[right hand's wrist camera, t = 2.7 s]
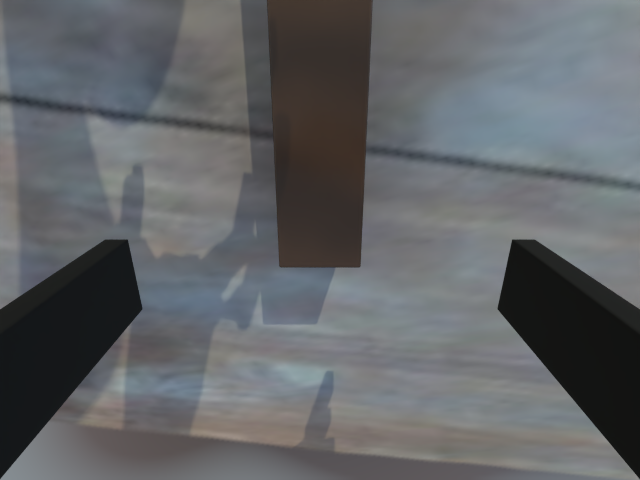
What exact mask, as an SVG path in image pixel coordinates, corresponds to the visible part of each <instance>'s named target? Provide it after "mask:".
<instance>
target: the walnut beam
mask: <svg viewBox="0 0 640 480" xmlns="http://www.w3.org/2000/svg"><path fill="white" fill-rule="evenodd" d="M372 4H373V0H267V8H268V30H269V51H270V73H271V94H272V116H273V138H274V159H275V181H276V202H277V224H278V245H279V266H280V267H360V264H361V243H362V221H363V199H364V177H365V156H366V134H367V112H368V91H369V69H370V47H371V25H372Z"/></svg>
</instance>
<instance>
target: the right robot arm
mask: <svg viewBox="0 0 640 480" xmlns="http://www.w3.org/2000/svg"><path fill="white" fill-rule="evenodd" d="M141 310H142V304H141V300H140V295H139V290H138V286H137V281H136V276H135V272H134V267H133V262H132V258H131V253H130V248H129V243H128V240H104V241H103V242H101V243H100V244H98V245H97V246H95V247H94V248H92V249H91V250H89V251H87V252H86V253H84V254H83V255H81V256H80V257H78V258H77V259H75V260H74V261H72V262H71V263H69V264H68V265H66V266H65V267H63V268H62V269H60V270H59V271H57V272H56V273H54V274H53V275H51V276H50V277H48V278H47V279H45V280H44V281H42V282H41V283H39V284H38V285H36V286H35V287H33V288H32V289H30V290H29V291H27V292H26V293H24V294H23V295H21V296H20V297H18V298H17V299H15V300H14V301H12V302H11V303H9V304H8V305H6V306H5V307H3V308H2V309H0V479H1V477H2V476H3V475H4V474H5V473H6V471H7V470H8V469H9V468H10V467H11V465H12V464H13V463H14V462H15V461H16V459H17V458H18V457H19V456H20V455H21V453H22V452H23V451H24V450H25V449H26V447H27V446H28V445H29V444H30V443H31V442H32V440H33V439H34V438H35V437H36V436H37V434H38V433H39V432H40V431H41V430H42V428H43V427H44V426H45V425H46V424H47V422H48V421H49V420H50V419H51V418H52V416H53V415H54V414H55V413H56V412H57V410H58V409H59V408H60V407H61V406H62V405H63V403H64V402H65V401H66V400H67V399H68V397H69V396H70V395H71V394H72V393H73V391H74V390H75V389H76V388H77V387H78V385H79V384H80V383H81V382H82V381H83V379H84V378H85V377H86V376H87V375H88V373H89V372H90V371H91V370H92V369H93V367H94V366H95V365H96V364H97V363H98V362H99V360H100V359H101V358H102V357H103V356H104V354H105V353H106V352H107V351H108V350H109V348H110V347H111V346H112V345H113V344H114V342H115V341H116V340H117V339H118V338H119V336H120V335H121V334H122V333H123V332H124V330H125V329H126V328H127V327H128V326H129V325H130V323H131V322H132V321H133V320H134V319H135V317H136V316H137V315H138V314H139V313H140V311H141ZM498 310H499V311H500V313H501V314H502V315H503V316H504V317H505V319H506V320H507V321H508V322H509V323H510V325H511V326H512V327H513V328H514V329H515V330H516V332H517V333H518V334H519V335H520V336H521V338H522V339H523V340H524V341H525V342H526V344H527V345H528V346H529V347H530V348H531V350H532V351H533V352H534V353H535V354H536V356H537V357H538V358H539V359H540V360H541V362H542V363H543V364H544V365H545V366H546V367H547V369H548V370H549V371H550V372H551V373H552V375H553V376H554V377H555V378H556V379H557V381H558V382H559V383H560V384H561V385H562V387H563V388H564V389H565V390H566V391H567V393H568V394H569V395H570V396H571V397H572V399H573V400H574V401H575V402H576V403H577V405H578V406H579V407H580V408H581V409H582V410H583V412H584V413H585V414H586V415H587V416H588V418H589V419H590V420H591V421H592V422H593V424H594V425H595V426H596V427H597V428H598V430H599V431H600V432H601V433H602V434H603V436H604V437H605V438H606V439H607V440H608V442H609V443H610V444H611V445H612V446H613V447H614V449H615V450H616V451H617V452H618V453H619V455H620V456H621V457H622V458H623V459H624V461H625V462H626V463H627V464H628V465H629V467H630V468H631V469H632V470H633V471H634V473H635V474H636V475H637V476H638V477H639V479H640V309H638V308H637V307H635V306H634V305H632V304H631V303H629V302H628V301H626V300H625V299H623V298H622V297H620V296H619V295H617V294H616V293H614V292H613V291H611V290H610V289H608V288H607V287H605V286H604V285H602V284H601V283H599V282H598V281H596V280H595V279H593V278H592V277H590V276H589V275H587V274H586V273H584V272H583V271H581V270H580V269H578V268H577V267H575V266H574V265H572V264H571V263H569V262H568V261H566V260H565V259H563V258H562V257H560V256H559V255H557V254H556V253H554V252H553V251H551V250H549V249H548V248H546V247H545V246H543V245H542V244H540V243H539V242H537V241H536V240H512V243H511V248H510V253H509V257H508V262H507V267H506V272H505V276H504V281H503V286H502V290H501V295H500V300H499V304H498Z"/></svg>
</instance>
